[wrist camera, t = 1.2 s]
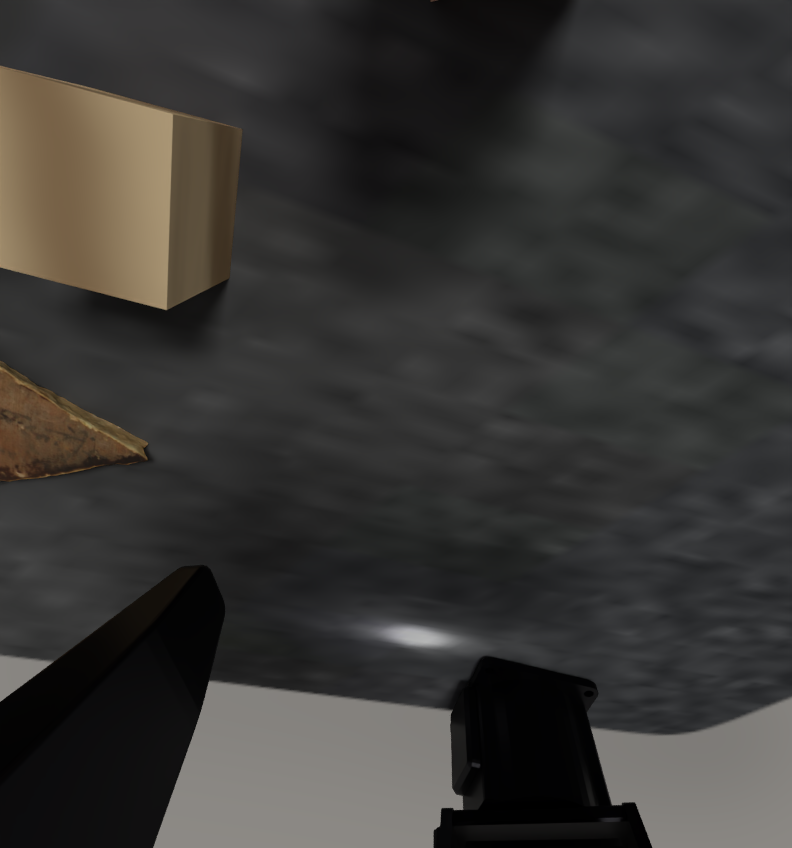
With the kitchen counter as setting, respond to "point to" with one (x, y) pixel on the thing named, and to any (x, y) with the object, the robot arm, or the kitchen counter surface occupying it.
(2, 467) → the shard
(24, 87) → the honey oak cube
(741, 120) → the kitchen counter surface
